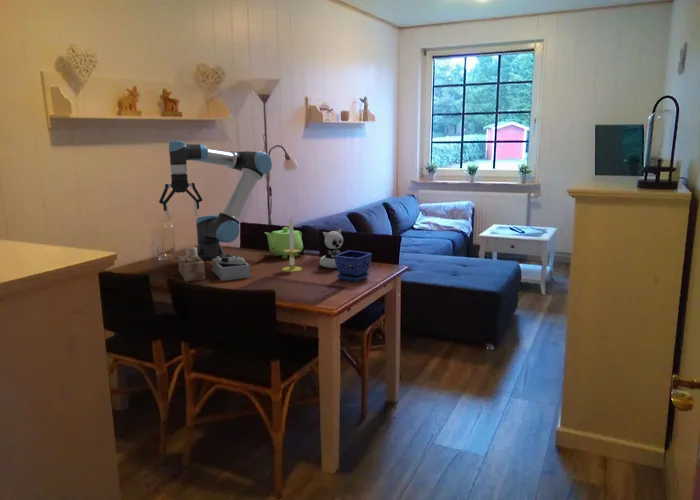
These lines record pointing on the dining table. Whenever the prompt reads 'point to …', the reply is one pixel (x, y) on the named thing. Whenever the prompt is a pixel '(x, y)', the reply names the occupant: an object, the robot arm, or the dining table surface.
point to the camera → (230, 261)
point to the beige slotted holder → (191, 269)
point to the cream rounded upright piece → (191, 254)
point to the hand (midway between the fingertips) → (182, 216)
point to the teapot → (283, 242)
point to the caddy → (231, 271)
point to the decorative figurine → (331, 248)
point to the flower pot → (353, 265)
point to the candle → (291, 251)
